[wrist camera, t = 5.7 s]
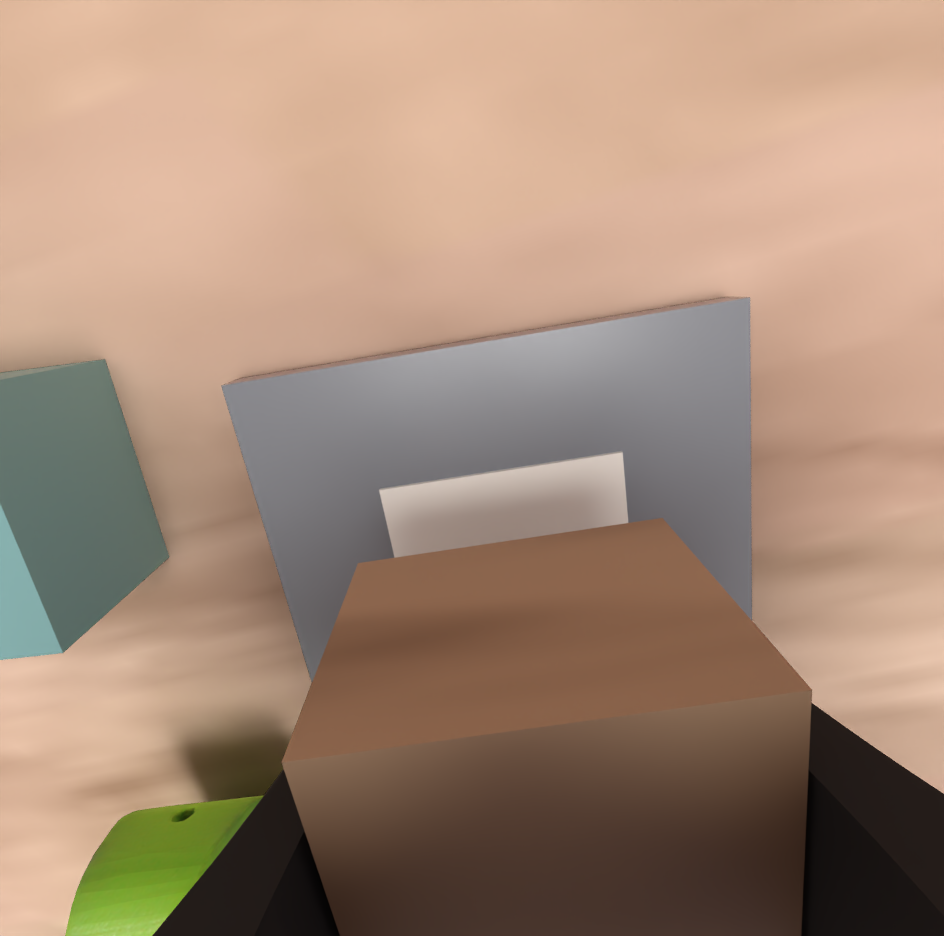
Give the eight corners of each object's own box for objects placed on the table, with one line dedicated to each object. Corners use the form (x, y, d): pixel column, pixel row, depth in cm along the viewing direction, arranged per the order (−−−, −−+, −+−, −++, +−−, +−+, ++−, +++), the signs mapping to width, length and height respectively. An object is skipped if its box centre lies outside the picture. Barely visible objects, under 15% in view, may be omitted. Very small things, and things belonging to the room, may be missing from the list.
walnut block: (675, 758, 10) (796, 1029, 7) (414, 793, 11) (387, 1076, 7) (662, 517, 9) (812, 689, 5) (357, 563, 9) (281, 762, 5)
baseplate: (735, 703, 15) (754, 733, 14) (350, 754, 16) (342, 787, 15) (727, 296, 12) (752, 297, 11) (239, 377, 13) (218, 386, 11)
